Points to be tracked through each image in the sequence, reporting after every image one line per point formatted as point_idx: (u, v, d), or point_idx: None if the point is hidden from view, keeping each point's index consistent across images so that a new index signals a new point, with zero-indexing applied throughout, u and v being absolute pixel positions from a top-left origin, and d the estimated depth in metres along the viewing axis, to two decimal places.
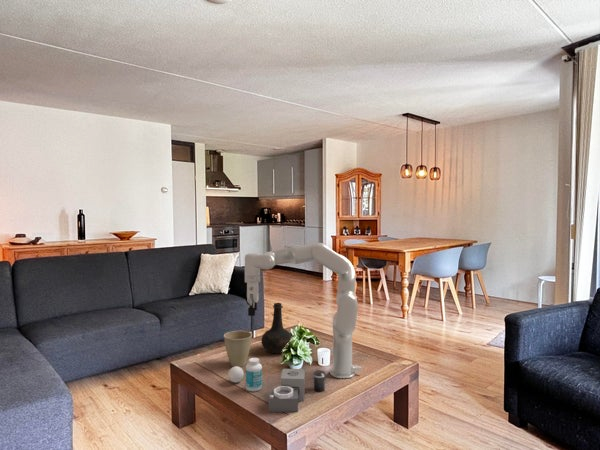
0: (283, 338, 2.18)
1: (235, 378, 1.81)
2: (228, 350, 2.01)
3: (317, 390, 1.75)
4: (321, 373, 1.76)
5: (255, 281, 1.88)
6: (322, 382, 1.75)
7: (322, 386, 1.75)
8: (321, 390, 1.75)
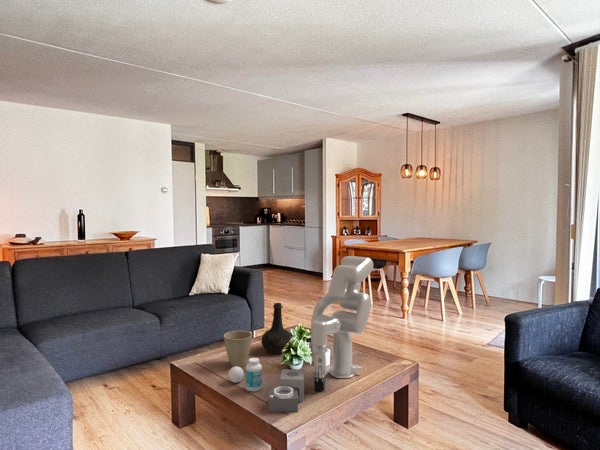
0: (283, 338, 2.18)
1: (235, 378, 1.81)
2: (228, 350, 2.01)
3: (317, 390, 1.75)
4: None
5: (323, 351, 1.73)
6: None
7: None
8: (321, 390, 1.75)
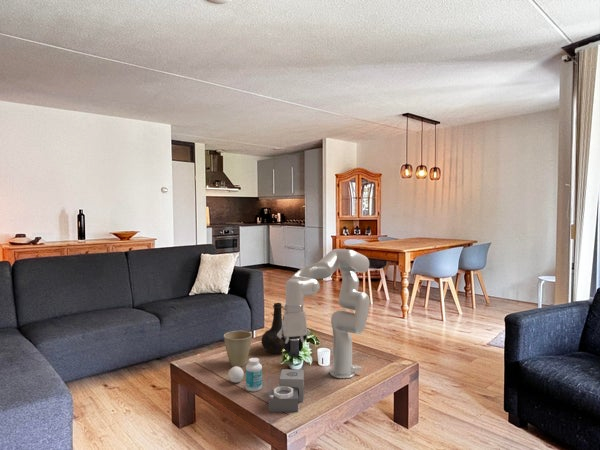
0: None
1: (235, 378, 1.81)
2: (228, 350, 2.01)
3: None
4: None
5: (288, 312, 1.62)
6: (289, 345, 1.63)
7: (289, 350, 1.63)
8: (288, 353, 1.63)
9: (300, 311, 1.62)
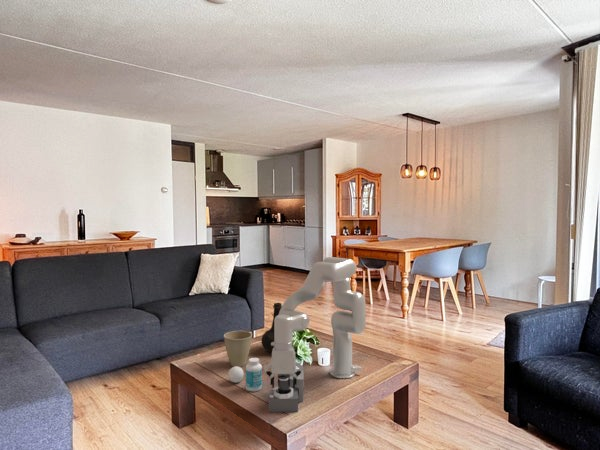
0: None
1: (235, 378, 1.81)
2: (228, 350, 2.01)
3: None
4: (281, 376, 1.60)
5: (275, 348, 1.59)
6: (278, 385, 1.60)
7: (278, 389, 1.60)
8: None
9: (287, 349, 1.57)
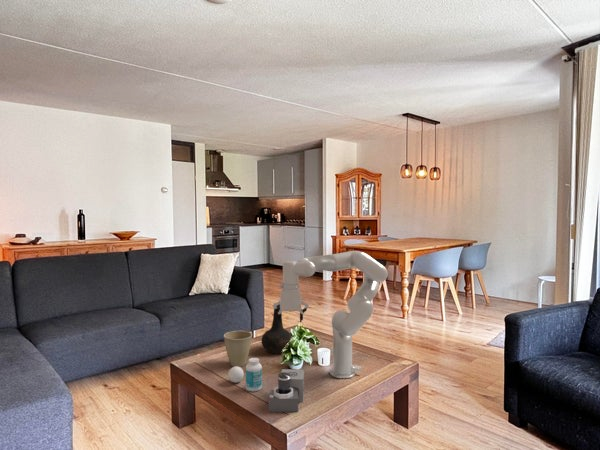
0: (283, 338, 2.18)
1: (235, 378, 1.81)
2: (228, 350, 2.01)
3: None
4: (281, 375, 1.60)
5: (283, 289, 1.84)
6: (278, 384, 1.60)
7: (278, 389, 1.60)
8: (278, 392, 1.61)
9: (294, 289, 1.83)
